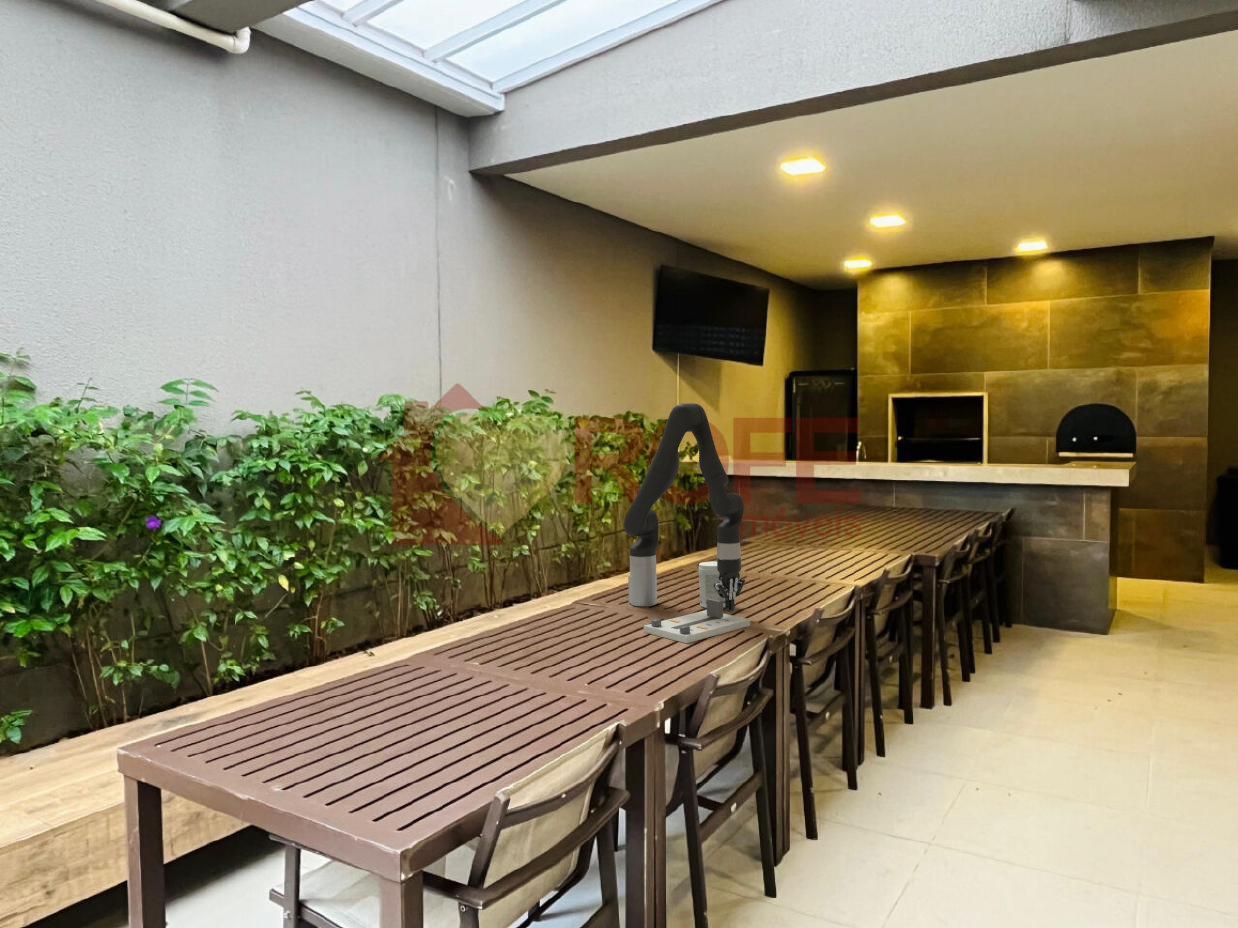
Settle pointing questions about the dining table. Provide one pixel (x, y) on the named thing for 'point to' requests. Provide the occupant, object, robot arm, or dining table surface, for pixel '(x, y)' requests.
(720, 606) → the fader tab
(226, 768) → the dining table surface
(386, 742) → the dining table surface
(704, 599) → the supplement tub
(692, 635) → the console board
